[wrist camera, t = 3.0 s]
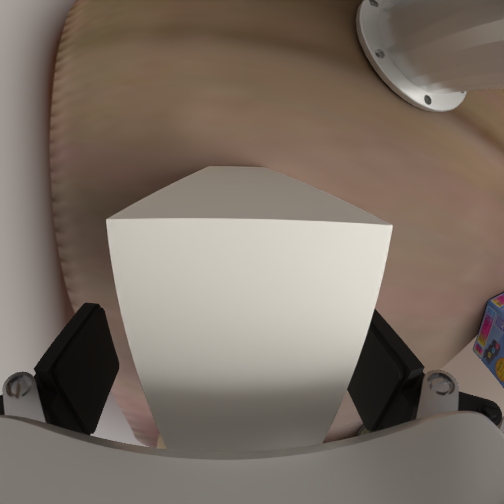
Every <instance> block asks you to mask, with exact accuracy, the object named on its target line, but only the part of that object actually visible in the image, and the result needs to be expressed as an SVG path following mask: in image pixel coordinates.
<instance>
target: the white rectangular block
mask: <svg viewBox="0 0 504 504" xmlns="http://www.w3.org/2000/svg"><path fill="white" fill-rule="evenodd" d="M106 224H107V233H108V241H109V249H110V256H111V263H112V269H113V275H114V281H115V286H116V291H117V296H118V301H119V306H120V310H121V315H122V319H123V323H124V327H125V331H126V335H127V339H128V343H129V346H130V350H131V353H132V357H133V360H134V364H135V367H136V370H137V373H138V376H139V379H140V382H141V385H142V388H143V391H144V394H145V397H146V399H147V402H148V405H149V408H150V410H151V413H152V415H153V418H154V420H155V423H156V425H157V428H158V430H159V432H160V435H161V437H162V439H163V441H164V444H165V446H166V448H167V449H169V450H180V451H194V452H254V451H269V450H280V449H289V448H297V447H305V446H311V445H317V444H322V443H323V441H324V439H325V437H326V435H327V433H328V431H329V429H330V427H331V425H332V422H333V420H334V418H335V416H336V414H337V411H338V409H339V407H340V405H341V402H342V400H343V398H344V395H345V393H346V390H347V388H348V385H349V383H350V380H351V378H352V375H353V372H354V370H355V367H356V364H357V362H358V359H359V356H360V353H361V350H362V347H363V344H364V341H365V338H366V335H367V332H368V329H369V325H370V322H371V319H372V315H373V312H374V308H375V305H376V301H377V297H378V293H379V289H380V285H381V281H382V277H383V273H384V268H385V264H386V259H387V254H388V249H389V244H390V239H391V233H392V227H393V225H391V224H389V223H387V222H385V221H384V220H382V219H380V218H378V217H376V216H374V215H372V214H370V213H368V212H366V211H364V210H362V209H360V208H358V207H356V206H354V205H352V204H350V203H348V202H345V201H343V200H341V199H339V198H337V197H335V196H333V195H330V194H328V193H326V192H324V191H322V190H319V189H317V188H315V187H313V186H310V185H308V184H306V183H303V182H301V181H299V180H296V179H294V178H292V177H289V176H287V175H284V174H282V173H279V172H277V171H274V170H272V169H269V168H267V167H246V166H208V167H206V168H204V169H202V170H199V171H197V172H195V173H193V174H191V175H189V176H187V177H184V178H182V179H180V180H178V181H176V182H174V183H172V184H170V185H168V186H166V187H164V188H162V189H160V190H158V191H156V192H154V193H153V194H151V195H149V196H147V197H145V198H143V199H141V200H139V201H138V202H136V203H134V204H132V205H130V206H128V207H127V208H125V209H123V210H121V211H120V212H118V213H116V214H114V215H113V216H111V217H109V218H108V219H106Z"/></svg>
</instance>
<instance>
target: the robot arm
mask: <svg viewBox="0 0 504 504" xmlns="http://www.w3.org/2000/svg"><path fill="white" fill-rule="evenodd" d="M356 31H357V34H358V38H359V41H360V44H361V46H362V48H363V51H364V53H365V55H366V57H367V58H368V60H369V62H370V63H371V65H372V67H373V68H374V70H375V71H376V72H377V73H378V75H379V76H380V77H381V79H382V80H383V81H384V82H385V83H386V84H387V85H388V86H389V87H390V88H391V89H392V90H393V91H394V92H395V93H396V94H398V95H399V96H400V97H401V98H402V99H404V100H405V101H407V102H408V103H410V104H412V105H413V106H415V107H418V108H420V109H422V110H425V111H431V112H445V111H449V110H453V109H454V108H456V107H458V106H459V105H460V103H461V102H462V101H463V100H464V98H465V96H466V93H467V91H474V90H485V89H499V88H504V0H363V1H362V2H361V3H360V5H359V7H358V10H357V14H356ZM423 369H424V366H423V365H422V363H421V362H420V361H419V360H418V358H417V357H416V356H415V355H414V354H413V352H412V351H411V350H410V349H409V348H408V346H407V345H406V344H405V343H404V342H403V340H402V339H401V338H400V337H399V336H398V335H397V333H396V332H395V331H394V330H393V329H392V328H391V326H390V325H389V324H388V323H387V322H386V321H385V320H384V318H383V317H382V316H381V315H380V314H379V313H378V312H377V311H376V309H375V308H374V312H373V315H372V319H371V322H370V325H369V329H368V332H367V335H366V338H365V341H364V344H363V347H362V350H361V353H360V356H359V359H358V362H357V364H356V367H355V370H354V372H353V375H352V378H351V380H350V383H349V385H348V388H347V390H348V392H349V394H350V396H351V398H352V400H353V402H354V404H355V407H356V409H357V411H358V413H359V415H360V417H361V419H362V421H363V424H364V426H365V428H366V429H367V430H368V431H371V433H368V434H364V435H360V436H356V437H352V438H348V439H343V440H338V441H334V442H328V443H323V444H317V445H311V446H305V447H297V448H289V449H280V450H269V451H254V452H194V451H180V450H169V449H159V448H151V447H144V446H138V445H132V444H126V443H120V442H116V441H111V440H107V439H102V438H98V437H94V436H90V434H91V433H92V434H93V433H94V432H95V430H96V427H97V424H98V421H99V419H100V416H101V413H102V411H103V408H104V405H105V403H106V400H107V397H108V395H109V392H110V390H111V387H112V385H113V382H114V380H115V378H116V375H117V373H118V370H119V361H118V357H117V354H116V351H115V348H114V344H113V341H112V337H111V334H110V330H109V326H108V323H107V319H106V315H105V311H104V309H103V308H101V307H100V305H99V304H94V303H84V304H83V305H82V306H81V308H80V309H79V310H78V311H77V313H76V314H75V315H74V316H73V318H72V319H71V320H70V321H69V322H68V324H67V325H66V326H65V327H64V329H63V330H62V331H61V332H60V334H59V335H58V336H57V338H56V339H55V340H54V342H53V343H52V344H51V346H50V347H49V348H48V350H47V351H46V353H45V354H44V355H43V357H42V358H41V359H40V361H39V362H38V364H37V365H36V366H35V368H34V370H35V372H36V374H35V376H34V377H33V376H32V375H31V374H29V373H27V372H17V373H15V374H13V375H11V376H10V377H8V379H7V380H6V381H5V383H4V385H3V395H0V504H504V417H503V418H502V412H501V410H500V408H499V406H498V405H497V404H496V403H495V402H493V401H490V400H488V399H484V398H480V397H477V396H473V395H469V394H466V393H462V392H459V387H458V383H457V381H456V379H455V378H454V377H453V376H452V375H451V374H449V373H447V372H445V371H442V370H432V371H429V372H428V373H427V374H424V373H423Z"/></svg>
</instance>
